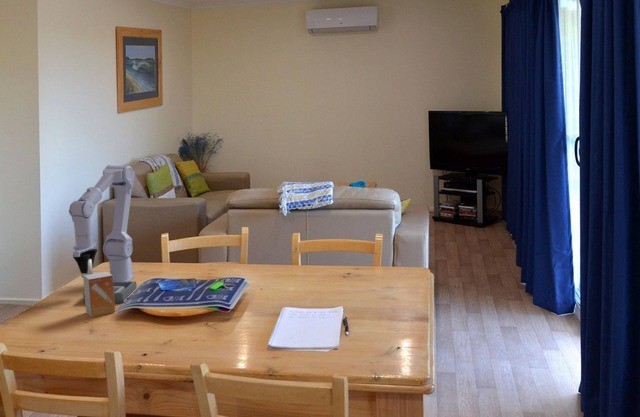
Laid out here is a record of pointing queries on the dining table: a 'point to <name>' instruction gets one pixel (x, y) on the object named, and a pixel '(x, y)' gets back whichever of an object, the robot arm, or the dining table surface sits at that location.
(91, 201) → the robot arm
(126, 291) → the walled box
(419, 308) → the dining table surface
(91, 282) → the small box
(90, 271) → the bottle
